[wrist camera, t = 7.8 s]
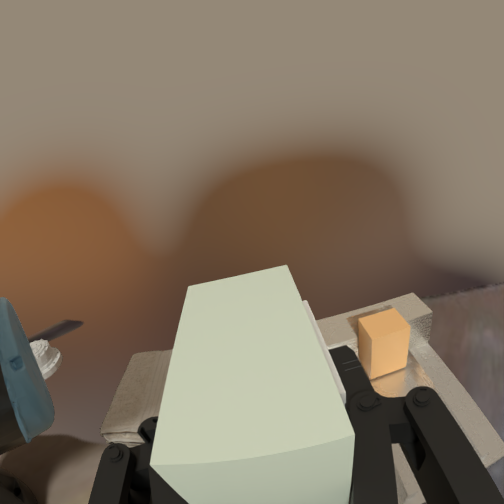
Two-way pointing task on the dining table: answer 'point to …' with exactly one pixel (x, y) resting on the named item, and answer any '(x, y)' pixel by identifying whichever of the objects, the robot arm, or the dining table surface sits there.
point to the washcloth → (136, 397)
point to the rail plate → (417, 383)
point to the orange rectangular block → (383, 342)
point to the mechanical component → (46, 357)
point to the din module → (251, 400)
